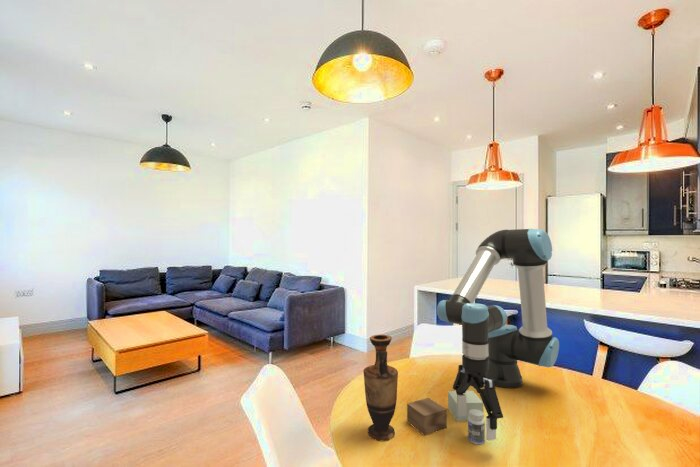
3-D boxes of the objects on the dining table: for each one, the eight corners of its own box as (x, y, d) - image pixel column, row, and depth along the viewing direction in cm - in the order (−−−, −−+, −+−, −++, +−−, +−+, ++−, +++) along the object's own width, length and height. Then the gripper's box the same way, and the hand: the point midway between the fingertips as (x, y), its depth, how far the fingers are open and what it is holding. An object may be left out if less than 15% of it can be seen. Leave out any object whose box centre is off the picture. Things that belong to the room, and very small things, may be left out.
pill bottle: (465, 440, 103) (465, 412, 103) (472, 433, 106) (471, 406, 106) (481, 446, 100) (480, 418, 100) (487, 439, 103) (486, 411, 103)
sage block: (472, 407, 123) (472, 390, 123) (483, 420, 114) (483, 402, 114) (448, 408, 122) (447, 391, 123) (456, 421, 113) (456, 403, 114)
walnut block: (428, 415, 118) (428, 397, 118) (447, 428, 110) (446, 409, 110) (407, 421, 114) (407, 403, 114) (424, 435, 106) (424, 416, 106)
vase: (363, 423, 113) (362, 332, 113) (396, 424, 112) (395, 332, 113) (364, 443, 102) (363, 342, 102) (400, 444, 101) (399, 342, 102)
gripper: (441, 344, 114) (442, 408, 114) (493, 372, 90) (494, 453, 90) (461, 342, 116) (461, 405, 116) (516, 369, 92) (517, 448, 92)
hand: (475, 426), depth 103 cm, fingers open, 13 cm apart
